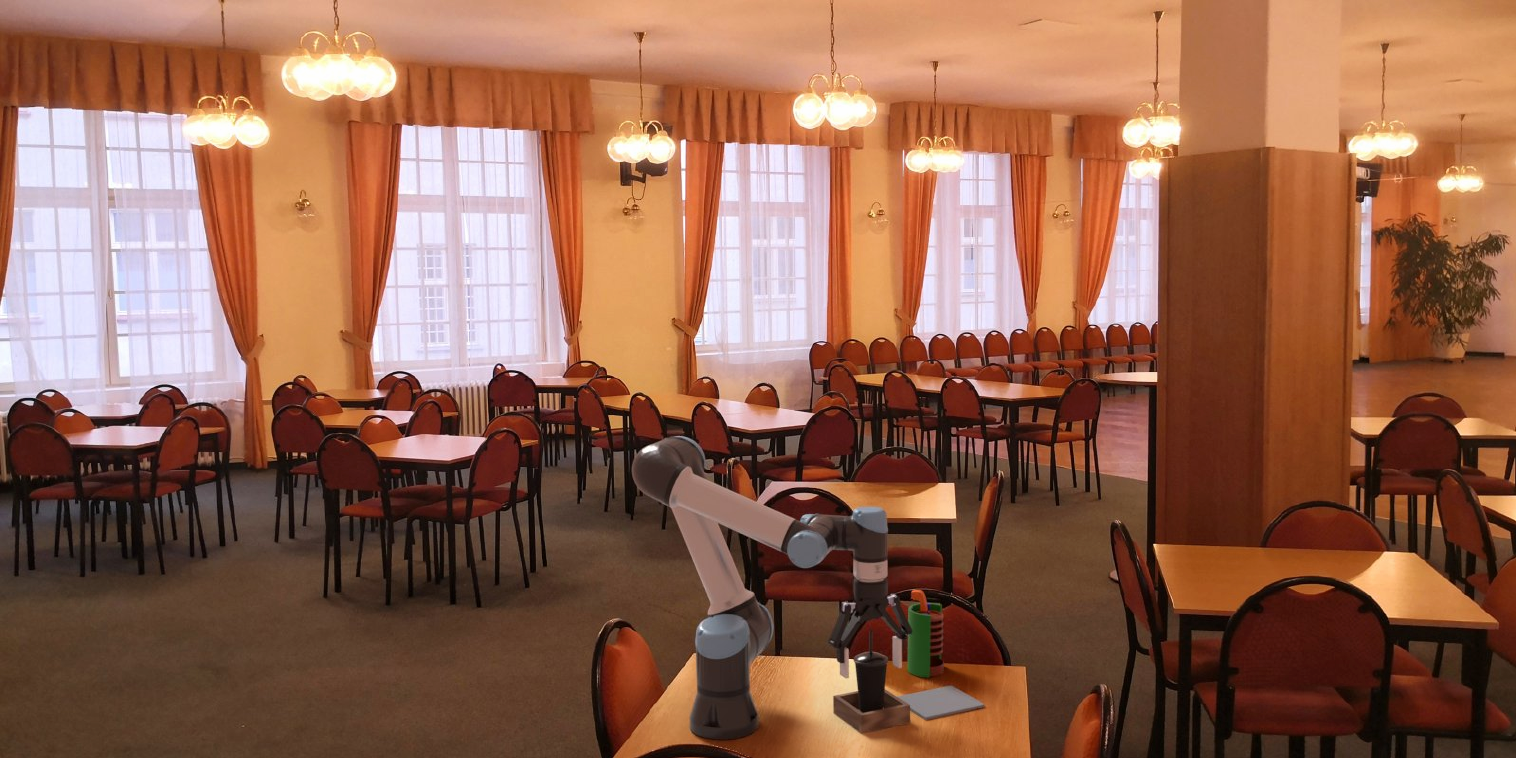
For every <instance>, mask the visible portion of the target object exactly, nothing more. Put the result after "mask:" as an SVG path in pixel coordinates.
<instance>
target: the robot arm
mask: <svg viewBox="0 0 1516 758" xmlns="http://www.w3.org/2000/svg"><path fill="white" fill-rule="evenodd" d="M705 468H706V456H705V452H704V451H703V449H702V447H701V446H700V445H699V444H698V443H697V442H696V441H695V440H693V439H692V438H689V437H686V436H683V435H681V436H680V435H677V436H676V435H675V436H669V437H665V438H664V439H661V440H659V441H656V442H654V443H651V444H649V445H647V446H645V447H643V448H641V449H640V450H639V451H638V453H637V454H636V455H635V456H634V458H633V460H632V465H631V474H632V479H633V481H634V484H635V486H636V487H637V488H638V489H639V491H641V492H642V493H643V494H645V495H646V496H648V497H649V498H651V499H653V500H655V501H657V502H659V503H661V504H662V505H665V506H667V507H670V508H671V511H672V514H673V515H674V518H675V521H676V523H677V526H678V528H679V530H680V533H681V534H682V537H683V539H684V543H685V545H686V547H687V549H688V552H689V554H690V556H691V559H692V561H693V563H694V567H695V569H696V571H697V573H698V576H699V578H700V581H701V583H702V586H703V588H704V591H705V593H706V596H707V598H708V599H709V603H710V606H709V608H708V610H707V616H708V617H707V618H705V619H703V620H702V621H701V622H700V623H699V624H698V626H697V627H696V632H695V640H694V645H695V662H696V663H695V666H696V668H695V669H696V694H695V695H696V696H695V698H694V702H693V704H692V708H691V711H690V715H689V729H690V731H691V732H692V733H693V734H694V735H697V736H699V737H702V738H704V739H708V740H709V739H710V740H719V741H721V740H734V739H738V738H742V737H746V736H749V735H751V734H752V733H754V732H755V731H756V730H757V729H758V728H759V713H758V710H757V708H756V704H755V702H754V699H753V696H752V693H751V683H750V681H751V680H750V679H751V677H750V671H751V670H750V669H751V667H750V666H751V665H750V664H752V663H753V661H755V659H757V658H758V656H759V655H761V654H762V653H763V652H764V651H765V650H766V649H767V647H768V646H769V643H770V642H771V640H772V637H773V635H774V626H775V625H774V621H773V617H772V614H771V613H770V611H769V610H768V608H767V607H766V606H764V605H763V604H760V602H758V600H757V597H756V595H755V593H754V591H752V590H751V591H750V590H748V589H747V588H745V585H744V582H743V581H742V578H741V576H740V574H739V570H738V568H737V567H736V564H735V562H734V559H733V556H732V554H731V552H730V550H729V547H728V545H727V542H726V540H725V538H724V537H725V536H724V535H723V532H722V530H721V528H720V525H721V526H724V527H726V528H727V529H729V530H732V531H735V532H736V533H738V534H742V535H743V536H746V537H748V538H751V539H752V540H755V541H757V542H759V543H761V544H763V545H766V546H767V547H770V548H772V549H775V550H776V551H779V552H781V553H783V554H785V555H787V557H788V558H789V560H790V561H791V563H792V564H793V565H795V566H796V567H798V568H802V569H809V568H812V567H814V566H816V565H818V564H820V563H821V562H822V561H823V560H824V559H825V558H826V557H827V555H828V554H829V553H831V552H832V551H833V550H834V551H835V550H836V551H852V555H853V556H852V559H853V562H852V563H853V564H852V565H853V568H852V569H853V570H852V571H853V572H852V573H853V574H852V575H853V577H854V578H853V597H854V599H853V602H846V601H841V603H840V612H839V614H838V617H837V619H836V621H835V624H834V627H833V629H832V632H831V634H830V637H829V638H828V642H827V643H828V645H830V646H831V647H833V648H834V649H836V662H837V663H839V675H840V676H842V677H843V678H844V679H849V678H850V668H849V667H850V661H849V660H850V657H849V655H850V652H849V648H847V646H848V644H849V643H850V641H851V640H852V638H853V637H854V635H855V634H856V632H857V630H859V628H860V627H861V625H863V624H864V623H865V621H866V622H870V621H872V620H880V618H881V619H882V620H883V621H884V623H886V625H887V627H889V628H890V630H891V631H892V632H893V633H894V634H895V635H893V636H892V637H891V639H892V665H893V666H894V667H896V668H898V669H902V667H903V652H905V649H906V648H905V642H906V641H905V640H908V634H912V632H913V631H912V629H911V626H910V624H909V622H908V617H906V614H905V612H904V610H903V608H902V605H901V598H900V596H898V595H896V594H895V593H890V594H889V593H888V591H889V590H888V589H889V588H888V587H889V583H888V582H889V580H888V579H887V577H888V543H889V542H888V541H889V539H888V534H889V533H888V532H889V528H888V517H887V516H888V515H887V512H886V510H885V509H884V508H881V507H878V506H858V507H856V508H855V509H853V511H852V514H851V515H849V516H848V515H837V514H836V515H834V514H832V515H831V514H820V513H815V514H813V513H808V514H807V513H806V514H804V515H802V516H801V518H800V520H797V519H796V518H794V517H792V516H789V515H787V514H784V513H783V512H780V511H778V510H775V509H773V508H771V507H768V506H767V505H765V504H762V503H760V502H757V501H755V500H753V499H751V498H748V497H746V496H745V495H742V494H740V493H737V492H735V491H733V490H730V489H729V488H726V487H724V486H721V485H720V484H718V483H716V482H712V481H711V480H708V478H707V477H706V476H707V475H706V474H705V472H704V471H705ZM888 594H889V596H888ZM888 606H890V607H891V609H892V612H893V614H894V616H895V617H896V620H897V621H898V624H897V622H896V621H895V620H894V619H893V618H892V616H891V615H890V614H889V613H888V611H887V610H886V609H887V607H888ZM851 614H852V615H851Z"/></svg>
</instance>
